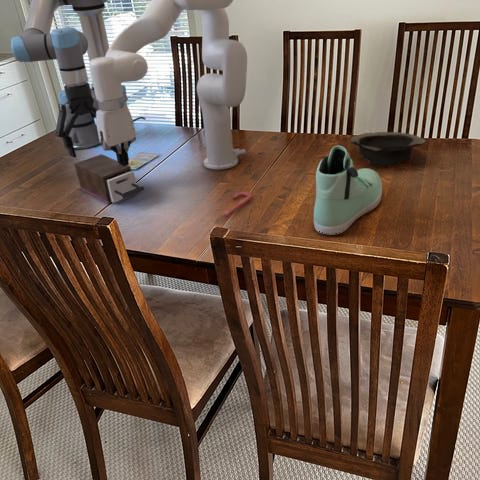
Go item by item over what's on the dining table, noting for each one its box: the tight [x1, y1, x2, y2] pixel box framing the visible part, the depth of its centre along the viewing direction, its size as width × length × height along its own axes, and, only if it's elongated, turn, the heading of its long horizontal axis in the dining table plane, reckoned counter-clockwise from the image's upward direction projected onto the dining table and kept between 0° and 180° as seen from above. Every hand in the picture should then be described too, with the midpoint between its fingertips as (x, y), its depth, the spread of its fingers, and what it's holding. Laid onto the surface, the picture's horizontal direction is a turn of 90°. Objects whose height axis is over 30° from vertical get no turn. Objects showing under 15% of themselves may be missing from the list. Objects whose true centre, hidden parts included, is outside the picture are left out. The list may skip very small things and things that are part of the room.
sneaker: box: [313, 145, 383, 236], centre depth 133 cm, size 14×35×20 cm, turn 152°
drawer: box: [106, 170, 146, 204], centre depth 155 cm, size 23×9×7 cm, turn 44°
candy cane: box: [223, 191, 253, 218], centre depth 145 cm, size 6×15×2 cm, turn 145°
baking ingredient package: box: [128, 152, 159, 170], centre depth 182 cm, size 9×1×15 cm
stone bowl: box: [350, 131, 426, 169], centre depth 166 cm, size 25×25×9 cm
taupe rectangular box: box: [73, 154, 132, 205], centre depth 159 cm, size 18×10×9 cm, turn 44°
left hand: (92, 150), depth 157 cm, fingers open, 13 cm apart
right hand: (124, 164), depth 145 cm, fingers closed
